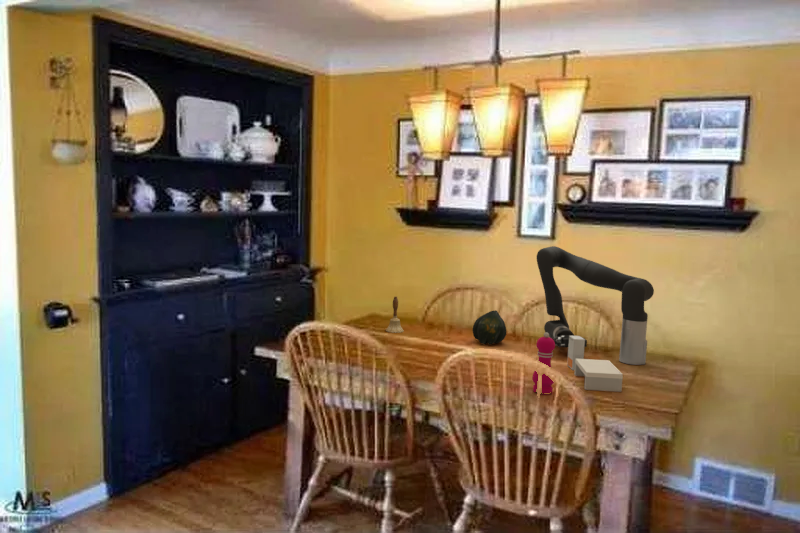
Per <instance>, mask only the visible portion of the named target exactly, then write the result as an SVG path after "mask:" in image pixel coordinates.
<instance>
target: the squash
mask: <svg viewBox="0 0 800 533" xmlns="http://www.w3.org/2000/svg"><path fill="white" fill-rule="evenodd" d="M499 313H500V312H498V310H491V311H488V312H487V313H486V312H485V313H484V314H482V315H481V316H479V317H478V318H477V319H475V321H474V323H473V326H472V330H471V331H472V335H473V337H474V339H475V340H477V341H479V343H480V344H482V345H483V344H485V345H489V346H491V345H493V344H499V343H501V342H503V341H504V340H505V338H506V336H507V326H506V324H505V321H504V319H503V318H502V316H501V315H500V314H499Z"/></svg>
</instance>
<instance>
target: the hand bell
mask: <svg viewBox="0 0 800 533" xmlns="http://www.w3.org/2000/svg"><path fill="white" fill-rule="evenodd" d="M392 308H393V313H392V314H393V315H392V318H390V320H389V325H388V326H387V328H386V329H385V331H386V332H387V333H392V334H399V333H403V332H404V329H403V327H402V326H401V320H400V318H398V308H399V299H398V296H394V297H393V301H392Z"/></svg>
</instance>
